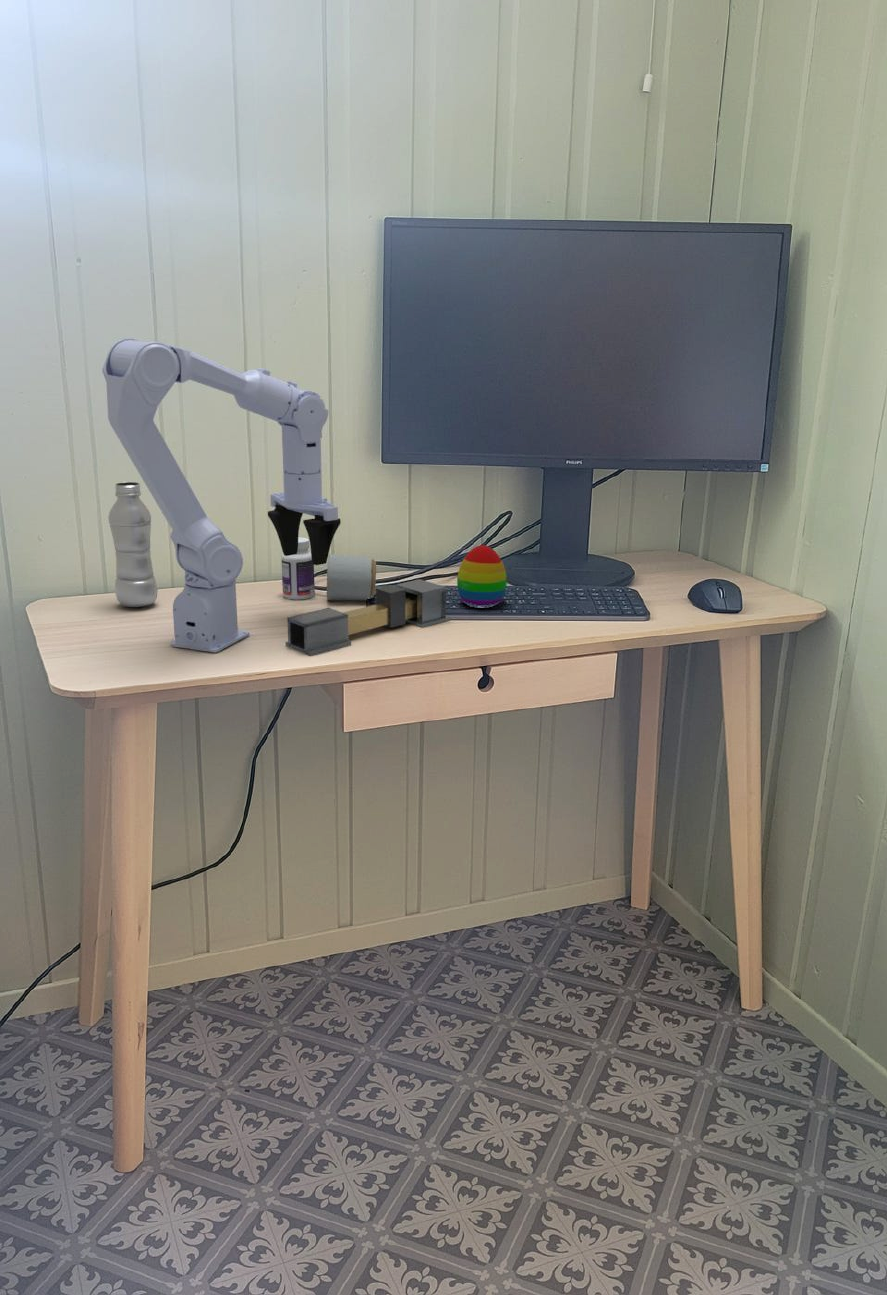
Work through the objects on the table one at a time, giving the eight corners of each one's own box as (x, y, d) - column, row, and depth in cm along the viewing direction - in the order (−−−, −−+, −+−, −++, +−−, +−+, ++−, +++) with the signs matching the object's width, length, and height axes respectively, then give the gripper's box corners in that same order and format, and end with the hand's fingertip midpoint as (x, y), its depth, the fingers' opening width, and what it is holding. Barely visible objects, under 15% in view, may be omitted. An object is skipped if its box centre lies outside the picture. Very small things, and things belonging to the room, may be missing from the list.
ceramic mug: (376, 605, 180) (376, 560, 177) (326, 605, 179) (325, 559, 177) (376, 589, 190) (376, 546, 187) (329, 589, 189) (328, 546, 187)
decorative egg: (466, 613, 176) (467, 552, 173) (450, 599, 184) (451, 541, 180) (513, 609, 179) (515, 549, 175) (495, 595, 186) (497, 538, 183)
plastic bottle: (153, 611, 175) (144, 487, 168) (111, 611, 175) (100, 487, 168) (163, 600, 181) (154, 480, 174) (122, 600, 181) (111, 480, 174)
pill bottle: (317, 592, 187) (316, 536, 184) (311, 600, 182) (309, 543, 179) (286, 591, 187) (285, 535, 184) (279, 599, 182) (277, 542, 179)
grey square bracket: (422, 627, 168) (422, 593, 167) (391, 617, 173) (391, 584, 172) (450, 620, 172) (450, 587, 171) (419, 610, 177) (419, 578, 176)
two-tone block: (344, 639, 161) (343, 604, 159) (330, 634, 163) (329, 599, 161) (429, 617, 172) (429, 584, 170) (414, 612, 174) (414, 579, 172)
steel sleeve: (310, 655, 155) (309, 625, 154) (285, 645, 159) (284, 616, 158) (351, 644, 160) (350, 615, 159) (326, 635, 164) (325, 606, 163)
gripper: (353, 474, 161) (354, 563, 166) (295, 462, 171) (298, 546, 176) (315, 479, 157) (317, 571, 161) (257, 467, 167) (261, 553, 171)
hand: (304, 559), depth 168 cm, fingers open, 7 cm apart
